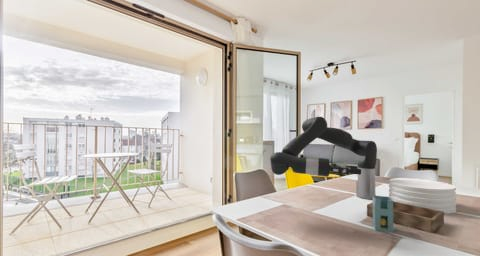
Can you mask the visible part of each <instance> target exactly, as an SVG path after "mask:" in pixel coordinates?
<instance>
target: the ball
mask: <svg viewBox="0 0 480 256" xmlns="http://www.w3.org/2000/svg"><path fill="white" fill-rule="evenodd" d="M386 225H387V221H386V220H385V219H384V218H381V226H386Z"/></svg>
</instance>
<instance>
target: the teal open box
mask: <svg viewBox="0 0 480 256" xmlns="http://www.w3.org/2000/svg"><path fill="white" fill-rule="evenodd" d="M372 203H373V217H372V226H373V229H374V231H378V232H386V233H392V234H393V233H394V223H393V200H392V199H391V198H390V197H389V196H382V195H375V196H374V195H373V199H372ZM381 218H384V219H385V220H386V221H387V225H386V226H381Z"/></svg>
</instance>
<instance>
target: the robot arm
mask: <svg viewBox="0 0 480 256" xmlns="http://www.w3.org/2000/svg"><path fill="white" fill-rule="evenodd" d="M301 129H302V131H303V132H302V133H301V134H299V135H297V136H295V137H294V138H292V140H290V141H289V142H288V143H287V144H286V145H285V146H283V148H282V150H281V151H277V152H274V153H272V154H271V155H270V158H269V159H270V168H271V171H272V173H273V174H275V175H278V176H280V175H284V174H285V173H286V172H287V171H288V170H289V169H291V170H292V172H293V173H295V174H303V175H309V176H316V177H317V176H318V177H329V175H330V172H332V173H333V174H336V175H337V174H339V175H347V176H349V175H357V179H356V180H355V183H356V184H355V186H356V187H355V190H356V193H355V196H356V197H358V198H361V199H366V200H373V195H374V196H377V195H376V194H377V193H376V165H377V157H378V156H377V153H378V147H377V143H376V142H375V141H374V140H361V139H359V140H358V139H355V138H353V135H352V134H351V133H349V132H348V131H346V130H344V129H342V128H336V127H328V122H327V120H326V119H325V118H324V117H323V116H315V117H312V118H311V117H310V118H308V119H305V120H304V121H303V123H302V124H301ZM316 139H319V140H323V141H324V142H327V143H329V144H332V145H334V146H336V147H340V148H342V149H344V150H349V151H351V153H352V152H353V153H354V154H355V155H358V156H360V157H364V160H362V161H359V162H358V163H357V166H356V165H347V164H343V163H337V162H334V163H332V162H331V163H330V159H329V158H324V157H323V158H321V157H301V156H299V154H300V153H302V151H303V150H304V149H306V148H307V146H309V145H310V144H311V143H312V142H313V141H315V140H316ZM298 156H299V157H298Z"/></svg>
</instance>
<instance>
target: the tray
mask: <svg viewBox="0 0 480 256" xmlns="http://www.w3.org/2000/svg"><path fill="white" fill-rule="evenodd" d="M444 214H445V213H444V211H439V210H434V209H429V208H424V207H419V206H414V205H409V204H404V203H399V202H394V201H393V224H396V225H401V226H404V227H409V228H411V229H416V230H419V231H423V232H427V233H430V234H436V232H437V231H438V230H439V229H441V228H442V226H443V225H444V224H445V215H444ZM366 217H370V218H373V202H370V203H368V204H367V205H366Z"/></svg>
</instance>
